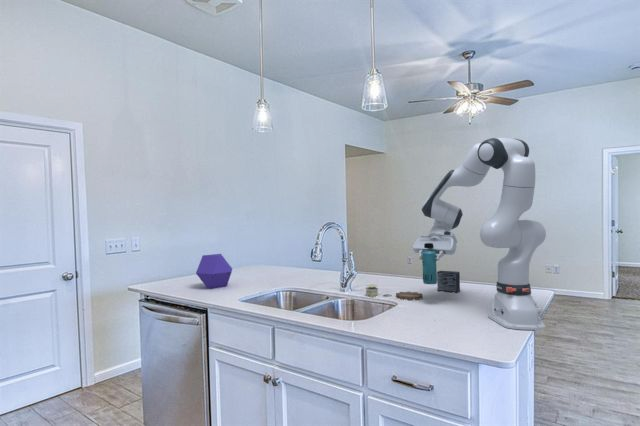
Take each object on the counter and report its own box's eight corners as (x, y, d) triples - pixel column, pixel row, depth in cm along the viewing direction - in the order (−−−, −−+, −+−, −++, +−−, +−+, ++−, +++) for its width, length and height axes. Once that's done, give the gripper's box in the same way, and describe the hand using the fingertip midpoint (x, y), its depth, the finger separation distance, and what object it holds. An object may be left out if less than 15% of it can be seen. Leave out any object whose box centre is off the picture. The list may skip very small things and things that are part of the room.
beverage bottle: (434, 284, 181) (433, 242, 181) (439, 287, 174) (438, 243, 174) (421, 285, 181) (419, 242, 181) (425, 288, 174) (423, 244, 174)
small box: (460, 291, 205) (460, 271, 205) (457, 293, 200) (457, 273, 200) (440, 289, 211) (440, 269, 211) (437, 291, 205) (436, 271, 205)
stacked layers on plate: (385, 297, 194) (384, 286, 194) (369, 299, 191) (369, 288, 190) (374, 293, 203) (374, 283, 203) (359, 295, 200) (359, 284, 200)
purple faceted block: (228, 289, 238) (222, 258, 244) (242, 280, 224) (235, 247, 230) (192, 294, 223) (187, 261, 229) (205, 285, 209) (199, 250, 215)
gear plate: (423, 300, 185) (423, 297, 185) (396, 300, 187) (396, 296, 187) (421, 294, 197) (421, 291, 197) (395, 294, 200) (395, 291, 200)
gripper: (416, 232, 190) (406, 253, 183) (456, 232, 176) (447, 256, 168) (420, 240, 193) (411, 262, 186) (460, 241, 179) (451, 265, 172)
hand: (428, 259), depth 177 cm, fingers closed on beverage bottle, 6 cm apart
